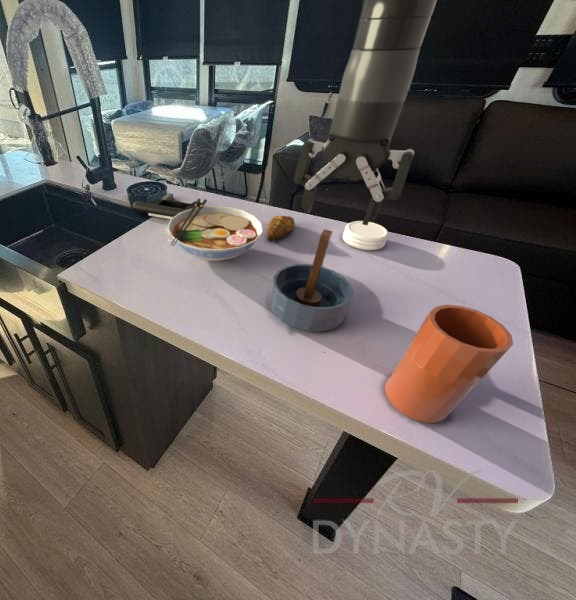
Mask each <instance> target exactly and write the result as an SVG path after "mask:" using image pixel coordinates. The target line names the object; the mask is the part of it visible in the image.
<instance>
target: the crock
mask: <svg viewBox="0 0 576 600" xmlns="http://www.w3.org/2000/svg"><path fill="white" fill-rule="evenodd" d="M513 345H514V340H513V336H512V334H511V333H510V332H509V330H508V329H507V328H506V326H505V325H504V324H502V323H501V322H499V321H498V320H496V319H495V318H494V317H493V316H490V315H488V314H486V313H483V312H482V311H479V310H476V309H475V308H470V307H467V306H463V305H457V304H442V305H437V306H435V307H433V308H432V309H431V310H430V311H429V312H428V314H427V315H426V317H425V319H424V320H423V322H422V324H421V325H420V327H419V328H418V330H417V332H416V333H415V335H414V336H413V337H412V340H411V341H410V343H409V346H408V347H407V348H406V351H405V352H404V353H403V355H402V357H401V359H400V360H399V362H398V363H397V365H396V367H395V368H394V369H393V371H392V373H391V375H390V376H389V377H388V379H387V381H386V383H385V385H384V391H385V394H386V397H387V400H388V401H389V402H390V404H391V405H392V406H393V407H394V408H396V409H397V410H398V412H400V413H401V414H402V415H405V416H406V417H407V418H410V419H412V420H415V421H418V422H421V423H426V424H436V423H441V422H443V421H444V420H445V419H446V418H448V417H449V415H451V413H452V412H453V411H454V410H455V409H456V408H457V407H458V406H459V405H460V403H462V401H463V400H464V399H465V398H466V397H467V396H468V395H469V393H470V392H471V391H472V390H473V389H474V388H475V387H476V386H477V385H478V383H480V381H482V379H484V377H485V376H486V375H487V374H488V373H489V371H490V370H491V369H492V368H493V367H494V366H495V365H496V364H497V363H498V362H499V361H500V360H501V359H502V357H503V356H504V355H505V354H506V353H507V352H508V351H509V350H510V349H511V347H512V346H513Z"/></svg>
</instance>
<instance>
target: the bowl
mask: <svg viewBox="0 0 576 600" xmlns="http://www.w3.org/2000/svg"><path fill="white" fill-rule="evenodd" d="M312 265H313V263H311V264H310V263H293V264H290V265H285V266H284V267H282V268H280V269H278V270H276V272H275V273H274V275H273V277H272V281H271V282H272V283H271V286H270V292H269V297H268V306H269V308H270V311H271V312H272V314H273V315H274V316H275V317H276V318H277V319H278V320H279V321H280V322H282V323H284V324H286V325H288V326H290V327H292V328H294V329H298V330H301V331H305V332H325V331H330V330H334V329H336V328H337V327H338V326H339V325H341V324H342V323H343V322H344V319H345V316H346V313H347V311H348V308H349V307H350V304H351V301H352V298H353V295H354V291H353V290H354V289H353V286H352V284H351V283H350V282H349V281H348V279H347V278H346V277H345V276H343V275H342V274H340V273H339V272H337V271H335V270H334V269H330V268H327V267H325V266H322V268H321V271H320V275H319V278H318V281H317V285H316V288H315V290H317V291H319V292H320V294H321V295H322V299H321V302H320V305H319V307H312V306H308V305H303V304H300V303H298V302H296V301H294V298H295V295H296V291H297V290H298V289H300V288H303V287H307V283H308V279H309V276H310V272H311V269H312Z"/></svg>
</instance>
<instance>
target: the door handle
mask: <svg viewBox="0 0 576 600" xmlns="http://www.w3.org/2000/svg"><path fill="white" fill-rule="evenodd" d="M196 202H197V200H195V201H192V202H191V203H188V202H182V201H176V200H174V193H170V192H169V193H167V194H165V195H164V196H162V198H154V200H152V201H151V202H149V203H148V202H143V201H133V202H132V203H131V210H132V211H134V212H137V213H143V214H148V216H149V217H157V218H161V219H169V220H170V219H172V218H173V217H174V216H176V215H177V214H179V213H180V212H183V211H186V210H189V209H192V208H193V207H194V205H195V203H196ZM201 204H202V202H201V201H200V202H199V204H198V205H197V207H196V208H198V207H200V205H201Z"/></svg>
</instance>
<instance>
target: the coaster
mask: <svg viewBox="0 0 576 600" xmlns="http://www.w3.org/2000/svg"><path fill="white" fill-rule="evenodd" d="M363 221H364V220H355V221H351V222H349V223H348V224H346V225H345V227H344V231H343V233H342V240H343V241H344V243H346V244H347V245H348V246H350V247H352V248H355V249H358V250H363V251H377V250H381V249H383V248H384V247H385V245H386V242H387V241H388V238H389V236H390V232H389V231H388V229H386V228H385V227H384V226H382V225H380V224H379V223H377V222H376V223H375V222H369V223H368V225H363Z"/></svg>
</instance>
